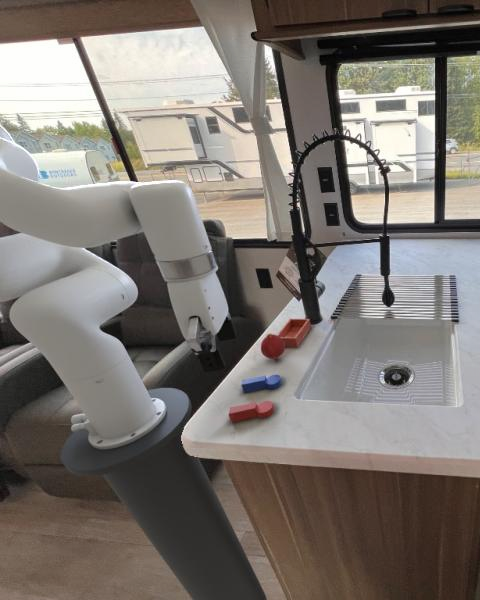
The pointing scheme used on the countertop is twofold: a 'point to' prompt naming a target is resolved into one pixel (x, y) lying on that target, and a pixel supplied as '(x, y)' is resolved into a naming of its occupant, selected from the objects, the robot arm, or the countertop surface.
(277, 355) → the onion
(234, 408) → the red spoon
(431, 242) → the countertop surface
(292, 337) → the red tub
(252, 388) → the blue spoon
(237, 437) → the countertop surface
